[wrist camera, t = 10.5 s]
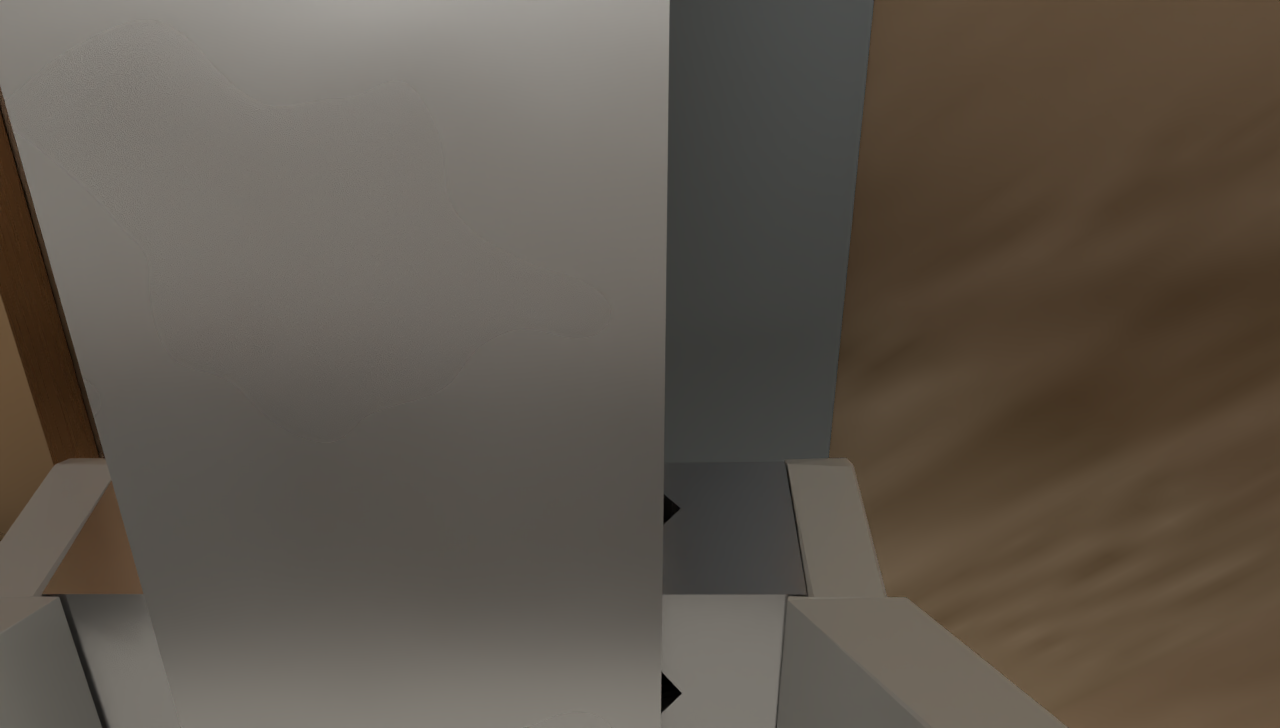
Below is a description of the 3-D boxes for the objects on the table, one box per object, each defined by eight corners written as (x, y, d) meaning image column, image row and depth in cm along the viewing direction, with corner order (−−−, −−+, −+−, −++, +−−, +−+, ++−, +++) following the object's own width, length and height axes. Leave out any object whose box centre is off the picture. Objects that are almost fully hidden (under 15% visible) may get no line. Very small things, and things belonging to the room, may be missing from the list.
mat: (972, -1144, 8) (992, -1193, 8) (782, 854, 19) (785, 887, 19) (-64, -1138, 8) (-111, -1190, 8) (338, 852, 19) (330, 885, 19)
